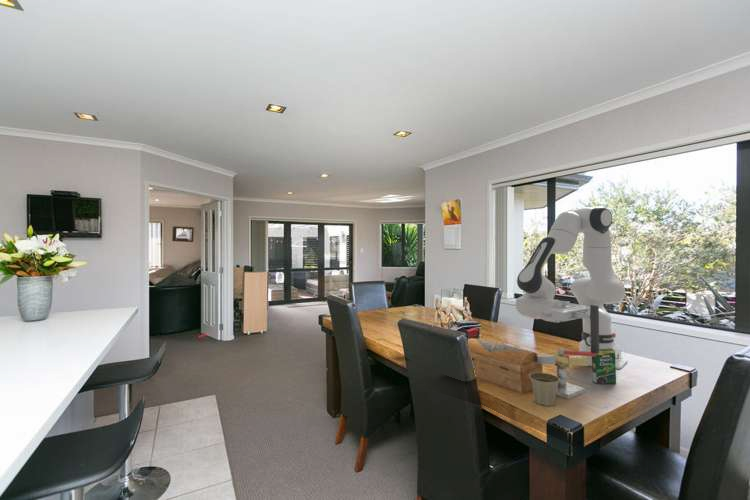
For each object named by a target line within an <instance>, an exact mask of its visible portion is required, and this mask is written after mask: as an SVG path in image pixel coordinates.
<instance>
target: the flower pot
mask: <svg viewBox="0 0 750 500" xmlns="http://www.w3.org/2000/svg"><path fill="white" fill-rule="evenodd" d="M529 377H530V379H531V382H532V387H533V389H532V391H533V398H534V402H535V403H536V404H538V405H540V406H541V405H544V406H545V407H553V406H554V405H555V404H556V398H557V395H556V390H557V385H558V382H559V381H560V379H559V378H558V377H557V375H554V374H551V373H546V372H542V373H532V374H530V375H529Z"/></svg>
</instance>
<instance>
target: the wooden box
mask: <svg viewBox="0 0 750 500" xmlns="http://www.w3.org/2000/svg"><path fill="white" fill-rule="evenodd" d="M467 339H468V344H469V349H470V353H471V357H472V362H473V366H474V370H475V375H476V378H477V380H479V381H482V382H486V383H489V384H492V385H495V386H497V387H500V388H504V389H506V390H509V391H513V392H516V393H519V394H521V395H523V394H525V393H527V392H529V391H531V390H532V391H533V387H532V382H531V379H530V377H529V375H530V374H532V373H543V364H539V363H537V362H536V354H537V355H539V353H537V352H535V351H532V350H527V349H524V348H519V347H515V346H512V345H507V344H502V343H498V342H493V341H488V340H484V339H483V340H482V339H479V338H475V337H474V338H467ZM476 378H475V379H476Z"/></svg>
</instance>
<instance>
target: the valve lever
mask: <svg viewBox="0 0 750 500" xmlns="http://www.w3.org/2000/svg"><path fill="white" fill-rule="evenodd" d="M590 329H591V352H588V351H579V350H569V349H568V350H567V349H562V348H561V349H560V348H558V349H557V353H558V355H569V356H594V357H596V354H599V306H598V305H590Z"/></svg>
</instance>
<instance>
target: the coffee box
mask: <svg viewBox="0 0 750 500" xmlns="http://www.w3.org/2000/svg"><path fill="white" fill-rule="evenodd" d="M591 369H592V372H591V373H592V382H593V383H595V384H596V385H605V384H606V385H607V384H608V385H609V384H610V385H613V384H617V369H616V363H615V350H613V349H611V348H609V349H599V354H596V357H594V356H592V366H591Z"/></svg>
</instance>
